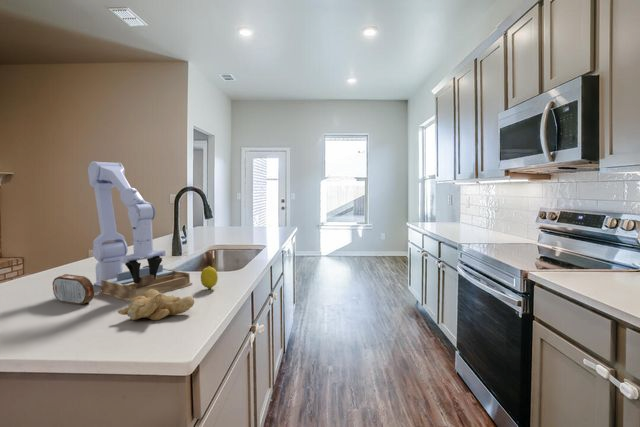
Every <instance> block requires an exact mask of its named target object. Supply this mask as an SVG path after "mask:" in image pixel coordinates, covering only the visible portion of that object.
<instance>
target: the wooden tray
mask: <svg viewBox="0 0 640 427" xmlns="http://www.w3.org/2000/svg"><path fill="white" fill-rule="evenodd" d="M163 270H168V271H173V273H172V274H168V275H164V276H159V277H156V279H155V280H154V282H155V284H153V285H149V286H145V287H141V288H137V289H136V283H134V282H133V283H129V284H125V285H123V284H119V283H115V282H111V281H107V280H101V286H100V287H101V290H99V293H100V294H103V295H107V296H110V297H113V298H117V299H120V300H124V301H127V302H131V303H132V299H133V298H135V297H137V296H143V295H144V293H145V292H147V291H148V290H150V289H154V290H157V291H158V292H159V293H162V294H164V293H167V292H171V291H174V290H178V289H182V288H185V287H188V286H191V285H193V282H191V280H190V278H191V277H190V272H185V271H180V270H175V269H169V268H164V267H163Z"/></svg>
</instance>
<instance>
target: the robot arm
mask: <svg viewBox="0 0 640 427" xmlns="http://www.w3.org/2000/svg"><path fill="white" fill-rule="evenodd" d="M125 172H126V171H125V167H124V165H123V164H122V163H121V162H109V161H108V162H105V161H103V162H102V161H94V160H93V161H91V162H90V163H89V165H88V169H87V175H88V176H87V177H88V181H89V186H90V187H92V188H94V195H95V201H96V210H97V215H98V223H99V229H100V234H99V235H98V236H96V238H95V239H94V240H92V247H93V248H92V254H93V257H94V259H95V260H96V262H97V263H96V264H95V279H96V281H95V282H94V283H93V285H95V286H99V287H101V280H109V279H114V278H117V273H121V272H124V265H125V266H126V268H127V269H128V271H130V273H131V275H132V278H133V281H134V282H133V283H139V282H140V277H139V271H140V269H141V265H142V264H141V262H139V261H142V260H147V264H148V267H149V273H150V275H154V280H155V279H156V274H157V270H158V268H159V265H161V263H162V261H163V257H166V250H164V249H159V250H154V244H153V242H154V241H153V239H154V238H153V220H154V219H155V216H156V209H155V206H154V204H153V203H152V202H148V201H145V199H144V198H143V197H142V195H141V194H140V192H139V191H138V189H136V188H134V187H131V185H130V183H129V182H128V180H127V178H126V176H125ZM114 187H115V188H116V189H117V190H118V191H119V193H120V194H119V198H120V201H122V203H123V205H124V206H125V208H126V209H127V210H128V212H127V216H128V219H129V222H130V227H132V242H133V245H132V246H133V253H132V254H128V252H129V248H128V244H127V242H126V238H125V236H124V235H123V234H121V233H119V232H117V224H116V218H115V210H114V204H113V198H112V197H113V196H112V189H113V188H114Z"/></svg>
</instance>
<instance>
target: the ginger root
mask: <svg viewBox="0 0 640 427" xmlns="http://www.w3.org/2000/svg"><path fill="white" fill-rule="evenodd" d="M194 305H195V298H193V297H192V296H190V295H189V296H185V297H183V298H181V297H180V296H175V295H167V294H164V293H159V292H158V291H157V290H154V289H150V290H148V291H147V292H145V293H144V295H143V296H137V297H135V298H133V299H132V301H131V303H129V304H128V306H127V307H124V308H121V309H119V310H118V311H117V313H118V314H119V315H123V316H125V315H127V316H128V317H129V318H130V319H131V320H132V321H136V320H139V319H141V318H146V319H150V320H151V321H160V320H162V319H163V318H166V317H167V316H174V315H181V314H183V313H184V312H188V311H189V310H191V308H192V307H193V306H194Z"/></svg>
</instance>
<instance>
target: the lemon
mask: <svg viewBox="0 0 640 427" xmlns="http://www.w3.org/2000/svg"><path fill="white" fill-rule="evenodd" d="M200 273H201V274H200V282H201V285H202V286H203V287H205V288H207V289H208V290H211V289H212V288H213V287H215V286H216V284H217V283H218V279H219V276H218V272H217V270H216V269H215V267H212V266H210V265H207V267H204V268H203V269H202V271H201V272H200Z"/></svg>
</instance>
